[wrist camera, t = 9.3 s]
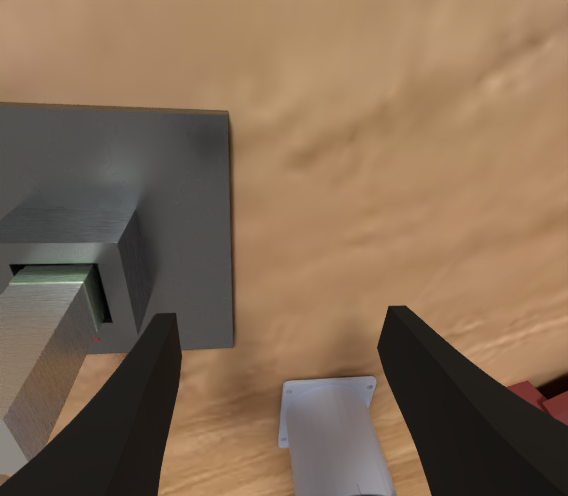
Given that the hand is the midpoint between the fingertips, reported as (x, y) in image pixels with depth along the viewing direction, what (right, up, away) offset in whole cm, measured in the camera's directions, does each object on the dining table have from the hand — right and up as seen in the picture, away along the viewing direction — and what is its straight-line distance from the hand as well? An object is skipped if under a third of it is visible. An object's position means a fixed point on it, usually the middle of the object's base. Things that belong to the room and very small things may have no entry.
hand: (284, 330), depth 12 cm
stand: (-11, +3, +9) cm, 15 cm away
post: (-11, +1, +6) cm, 12 cm away
